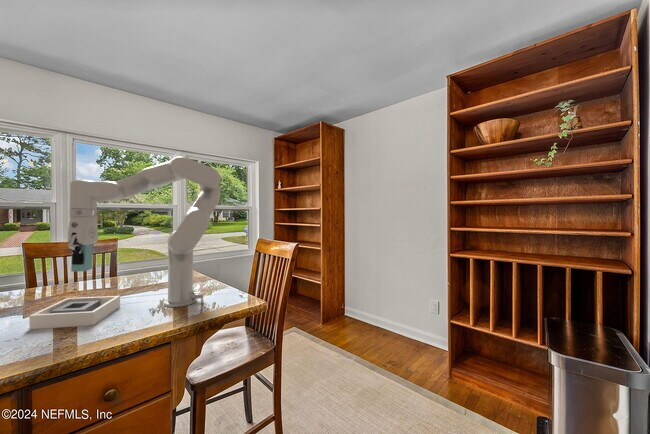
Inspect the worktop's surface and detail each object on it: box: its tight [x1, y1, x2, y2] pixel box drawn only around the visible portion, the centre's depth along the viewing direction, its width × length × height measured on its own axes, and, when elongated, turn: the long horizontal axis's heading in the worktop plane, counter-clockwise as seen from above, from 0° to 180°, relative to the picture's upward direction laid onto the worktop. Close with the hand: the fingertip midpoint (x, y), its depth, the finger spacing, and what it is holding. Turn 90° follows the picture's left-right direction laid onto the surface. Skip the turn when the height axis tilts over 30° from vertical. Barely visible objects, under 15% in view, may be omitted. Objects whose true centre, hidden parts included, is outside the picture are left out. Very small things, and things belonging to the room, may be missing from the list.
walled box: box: [28, 295, 121, 330], centre depth 100 cm, size 18×18×4 cm
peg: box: [70, 243, 94, 272], centre depth 100 cm, size 4×4×10 cm
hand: (82, 262), depth 100 cm, fingers closed on peg, 4 cm apart
